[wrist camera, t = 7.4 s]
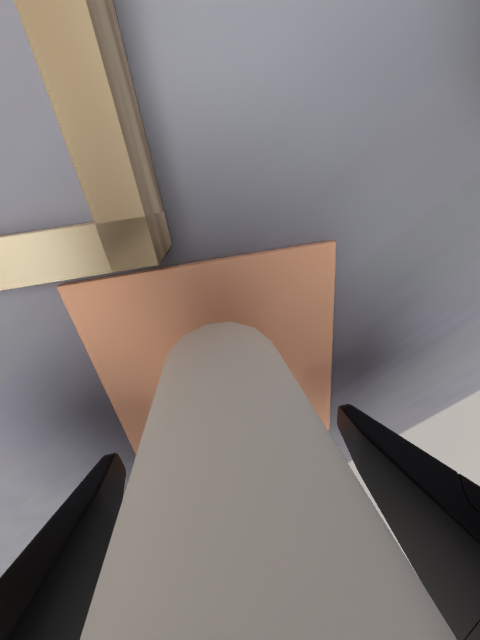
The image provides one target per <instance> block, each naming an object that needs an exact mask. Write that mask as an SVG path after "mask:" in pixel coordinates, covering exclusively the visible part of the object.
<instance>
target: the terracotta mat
mask: <svg viewBox="0 0 480 640" xmlns="http://www.w3.org/2000/svg"><path fill="white" fill-rule="evenodd" d="M335 259H336V241H333V240H329V241H323V242H317V243H311V244H304V245H298V246H292V247H286V248H280V249H274V250H267V251H261V252H255V253H249V254H243V255H237V256H230V257H224V258H218V259H212V260H206V261H200V262H193V263H187V264H181V265H175V266H169V267H163V268H156V269H150V270H144V271H138V272H132V273H126V274H119V275H113V276H107V277H101V278H95V279H89V280H82V281H76V282H70V283H64V284H61V285H59V286H57V289H58V291H59V294H60V296H61V298H62V300H63V302H64V304H65V306H66V308H67V310H68V313H69V315H70V317H71V319H72V321H73V323H74V325H75V327H76V329H77V332H78V334H79V336H80V338H81V340H82V342H83V344H84V346H85V348H86V351H87V353H88V355H89V357H90V359H91V361H92V363H93V365H94V368H95V370H96V372H97V374H98V376H99V378H100V380H101V382H102V384H103V387H104V389H105V391H106V393H107V395H108V397H109V399H110V401H111V403H112V406H113V408H114V410H115V412H116V414H117V416H118V418H119V420H120V422H121V425H122V427H123V429H124V431H125V433H126V435H127V437H128V439H129V442H130V444H131V446H132V448H133V450H134V452H135V454H136V455H137V451H138V448H139V445H140V441H141V438H142V435H143V432H144V428H145V425H146V422H147V419H148V415H149V412H150V409H151V406H152V402H153V399H154V396H155V392H156V389H157V386H158V383H159V379H160V376H161V373H162V370H163V366H164V363H165V360H166V356H167V353H168V352H169V351H170V350H171V349H172V347H173V346H174V345H175V344H176V343H177V342H178V340H179V339H180V338H181V337H182V336H183V335H185V334H187V333H189V332H191V331H193V330H195V329H197V328H199V327H201V326H203V325H205V324H212V323H221V322H230V321H231V322H235V323H239V324H243V325H247V326H251V327H255V328H256V329H257V330H259V331H260V332H261V333H263V334H264V335H265V336H266V337H268V338H269V339H270V340H272V342H273V344H274V345H275V347H276V348H277V350H278V352H279V353H280V355H281V356H282V358H283V360H284V361H285V363H286V364H287V366H288V368H289V369H290V371H291V373H292V374H293V376H294V377H295V379H296V381H297V382H298V384H299V385H300V387H301V389H302V390H303V392H304V394H305V395H306V397H307V398H308V400H309V402H310V403H311V405H312V406H313V408H314V410H315V411H316V413H317V415H318V416H319V418H320V419H321V421H322V423H323V424H324V426H325V427H326V429H327V431H329V425H330V397H331V370H332V342H333V315H334V287H335Z"/></svg>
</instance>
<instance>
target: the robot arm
mask: <svg viewBox="0 0 480 640" xmlns="http://www.w3.org/2000/svg"><path fill="white" fill-rule="evenodd" d="M337 424H338V428H339V430H340V432H341V435H342V437H343V439H344V441H345V444H346V446H347V448H348V450H349V452H350V455H351V457H352V459H353V461H354V463H355V466H356V468H357V470H358V472H359V473H360V475H361V477H362V479H363V481H364V482H365V484H366V486H367V488H368V489H369V491H370V493H371V495H372V496H373V498H374V500H375V502H376V503H377V505H378V507H379V509H380V510H381V512H382V514H383V515H384V517H385V519H386V521H387V523H388V524H389V526H390V528H391V530H392V531H393V533H394V535H395V536H396V538H397V540H398V542H399V543H400V545H401V547H402V549H403V551H404V552H405V554H406V556H407V558H408V559H409V561H410V563H411V565H412V566H413V568H414V570H415V572H416V573H417V575H418V577H419V579H420V580H421V582H422V584H423V586H424V587H425V589H426V590H427V592H428V594H429V595H430V597H431V598H432V600H433V602H434V603H435V605H436V606H437V608H438V610H439V611H440V613H441V615H442V616H443V618H444V619H445V621H446V623H447V624H448V626H449V627H450V629H451V631H452V632H453V634H454V636H455V637H456V639H457V640H480V486H478V485H477V484H475V483H474V482H472V481H470V480H469V479H467V478H466V477H464V476H462V475H461V474H458V473H457V472H456V471H454V470H453V469H451V468H450V467H448V466H447V465H445V464H443V463H442V462H440V461H439V460H437V459H436V458H434V457H432V456H431V455H429V454H428V453H426V452H424V451H423V450H421V449H420V448H418V447H417V446H415V445H414V444H412V443H410V442H409V441H407V440H405V439H404V438H402V437H401V436H399V435H398V434H396V433H395V432H393V431H392V430H390V429H388V428H387V427H385V426H384V425H382V424H380V423H379V422H377V421H376V420H374V419H373V418H371V417H369V416H368V415H366V414H365V413H363V412H362V411H360V410H358V409H357V408H355V407H354V406H352V405H350V404H346V405H341V406H339V407H338V414H337ZM125 477H126V469H125V466H124V464H123V462H122V460H121V459H120V457H119V455H118V454H117V453H113V454H108V455H105V456H103V457H102V458H101V459H100V461H99V462H98V463H97V464H96V465H95V467H94V468H93V469H92V470H91V471H90V472H89V474H88V475H87V476H86V477H85V478H84V480H83V481H82V482H81V483H80V484H79V485H78V487H77V488H76V489H75V490H74V491H73V493H72V494H71V495H70V496H69V497H68V498H67V500H66V501H65V502H64V503H63V504H62V506H61V507H60V508H59V509H58V510H57V511H56V513H55V514H54V515H53V516H52V517H51V518H50V520H49V521H48V522H47V523H46V524H45V526H44V527H43V528H42V529H41V530H40V531H39V533H38V534H37V535H36V536H35V537H34V539H33V540H32V541H31V542H30V543H29V544H28V546H27V547H26V548H25V549H24V550H23V552H22V553H21V554H20V555H19V556H18V557H17V559H16V560H15V561H14V562H13V563H12V565H11V566H10V567H9V568H8V569H7V570H6V572H5V573H4V574H3V575H2V576H1V578H0V640H80V637H81V634H82V631H83V628H84V624H85V621H86V618H87V615H88V611H89V608H90V605H91V601H92V598H93V595H94V592H95V588H96V585H97V582H98V579H99V575H100V572H101V569H102V566H103V562H104V559H105V556H106V553H107V549H108V546H109V543H110V539H111V536H112V533H113V530H114V526H115V523H116V520H117V517H118V513H119V510H120V507H121V504H122V500H123V493H124V485H125Z"/></svg>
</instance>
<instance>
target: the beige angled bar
mask: <svg viewBox="0 0 480 640" xmlns="http://www.w3.org/2000/svg"><path fill="white" fill-rule="evenodd" d="M14 2H15V5H16V7H17V10H18V13H19V16H20V18H21V21H22V24H23V27H24V30H25V32H26V35H27V38H28V41H29V43H30V46H31V49H32V52H33V54H34V57H35V60H36V63H37V66H38V68H39V71H40V74H41V77H42V79H43V82H44V85H45V88H46V90H47V93H48V96H49V99H50V102H51V104H52V107H53V110H54V113H55V115H56V118H57V121H58V124H59V126H60V129H61V132H62V135H63V138H64V140H65V143H66V146H67V149H68V151H69V154H70V157H71V160H72V162H73V165H74V168H75V171H76V174H77V176H78V179H79V182H80V185H81V187H82V190H83V193H84V196H85V198H86V201H87V204H88V207H89V210H90V212H91V215H92V218H93V221H94V222H89V223H83V224H76V225H69V226H62V227H55V228H48V229H42V230H35V231H28V232H21V233H14V234H8V235H1V236H0V291H1V290H7V289H13V288H19V287H26V286H32V285H38V284H44V283H50V282H57V281H63V280H69V279H75V278H81V277H88V276H94V275H100V274H106V273H112V272H119V271H125V270H131V269H137V268H143V267H150V266H156V265H159V264H160V262H161V261H162V259H163V258H164V256H165V255H166V253H167V252H168V250H169V249H170V247H171V246H172V242H171V238H170V234H169V230H168V226H167V222H166V218H165V213H164V209H163V205H162V201H161V197H160V193H159V189H158V185H157V180H156V176H155V172H154V168H153V164H152V160H151V156H150V152H149V147H148V143H147V139H146V135H145V131H144V127H143V123H142V119H141V114H140V110H139V106H138V102H137V98H136V94H135V90H134V86H133V81H132V77H131V73H130V69H129V65H128V61H127V57H126V53H125V48H124V44H123V40H122V36H121V32H120V28H119V24H118V20H117V15H116V11H115V7H114V3H113V0H14Z"/></svg>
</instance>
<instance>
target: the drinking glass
mask: <svg viewBox="0 0 480 640" xmlns="http://www.w3.org/2000/svg"><path fill="white" fill-rule="evenodd" d="M80 640H457V639H456V637H455V636H454V634H453V632H452V631H451V629H450V627H449V626H448V624H447V623H446V621H445V619H444V618H443V616H442V615H441V613H440V611H439V610H438V608H437V606H436V605H435V603H434V602H433V600H432V598H431V597H430V595H429V594H428V592H427V590H426V589H425V587H424V586H423V584H422V582H421V581H420V579H419V577H418V576H417V574H416V573H415V571H414V569H413V568H412V566H411V565H410V563H409V561H408V560H407V558H406V557H405V555H404V554H403V552H402V550H401V549H400V547H399V545H398V544H397V542H396V540H395V539H394V537H393V536H392V534H391V532H390V531H389V529H388V527H387V526H386V524H385V523H384V521H383V519H382V518H381V517H380V515H379V513H378V511H377V510H376V508H375V507H374V505H373V503H372V502H371V500H370V498H369V497H368V495H367V494H366V492H365V491H364V489H363V487H362V486H361V484H360V482H359V481H358V479H357V477H356V476H355V474H354V473H353V471H352V469H351V468H350V466H349V465H348V463H347V461H346V460H345V458H344V456H343V455H342V453H341V452H340V450H339V448H338V447H337V445H336V444H335V442H334V440H333V439H332V437H331V435H330V434H329V432H328V431H327V429H326V427H325V426H324V424H323V423H322V421H321V419H320V418H319V416H318V415H317V413H316V411H315V410H314V408H313V406H312V405H311V403H310V402H309V400H308V398H307V397H306V395H305V394H304V392H303V390H302V389H301V387H300V385H299V384H298V382H297V381H296V379H295V377H294V376H293V374H292V373H291V371H290V369H289V368H288V366H287V364H286V363H285V361H284V360H283V358H282V356H281V355H280V353H279V352H278V350H277V348H276V347H275V345H274V344H273V342H272V340H270V339H269V338H268V337H266V336H265V335H264V334H263V333H261V332H260V331H259V330H257V329H256V328H255V327H251V326H247V325H243V324H239V323H235V322H231V321H230V322H221V323H212V324H205V325H203V326H201V327H199V328H197V329H195V330H193V331H191V332H189V333H187V334H185V335H183V336H182V337H181V338H180V339H179V340H178V342H177V343H176V344H175V345H174V346H173V347H172V349H171V350H170V351H169V352H168V353H167V356H166V360H165V363H164V366H163V370H162V373H161V376H160V379H159V383H158V386H157V389H156V392H155V396H154V399H153V402H152V406H151V409H150V412H149V415H148V419H147V422H146V425H145V428H144V432H143V435H142V438H141V441H140V445H139V448H138V451H137V455H136V458H135V461H134V464H133V468H132V471H131V474H130V477H129V481H128V484H127V487H126V490H125V494H124V497H123V500H122V504H121V507H120V510H119V513H118V517H117V520H116V523H115V526H114V530H113V533H112V536H111V539H110V543H109V546H108V549H107V553H106V556H105V559H104V562H103V566H102V569H101V572H100V575H99V579H98V582H97V585H96V588H95V592H94V595H93V598H92V601H91V605H90V608H89V611H88V615H87V618H86V621H85V624H84V628H83V631H82V634H81V637H80Z"/></svg>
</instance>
